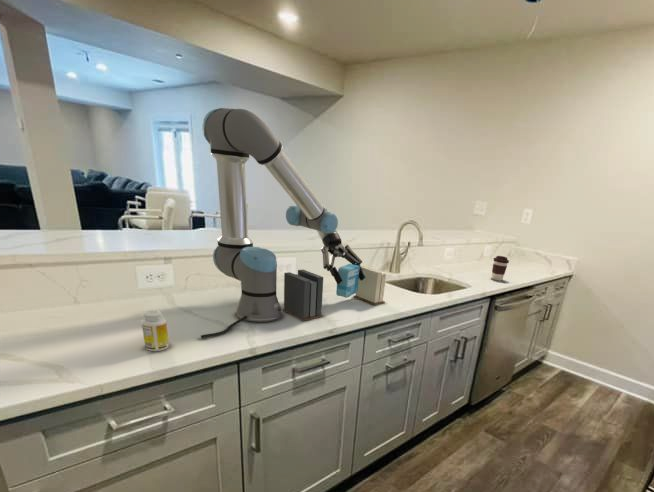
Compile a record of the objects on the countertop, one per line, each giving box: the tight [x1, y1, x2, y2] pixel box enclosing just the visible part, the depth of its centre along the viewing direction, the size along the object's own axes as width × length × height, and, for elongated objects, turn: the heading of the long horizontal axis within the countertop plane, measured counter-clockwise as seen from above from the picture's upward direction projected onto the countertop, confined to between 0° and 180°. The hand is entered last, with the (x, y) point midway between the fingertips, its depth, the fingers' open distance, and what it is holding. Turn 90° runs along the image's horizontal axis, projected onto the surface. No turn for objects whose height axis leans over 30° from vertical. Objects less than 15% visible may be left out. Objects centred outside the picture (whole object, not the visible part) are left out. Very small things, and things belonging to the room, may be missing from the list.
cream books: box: [353, 265, 387, 306], centre depth 170 cm, size 7×13×14 cm, turn 51°
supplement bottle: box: [141, 310, 170, 352], centre depth 104 cm, size 6×6×10 cm
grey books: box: [282, 268, 324, 322], centre depth 143 cm, size 8×13×15 cm, turn 51°
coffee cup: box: [491, 255, 510, 282], centre depth 251 cm, size 10×10×15 cm
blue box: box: [335, 263, 360, 299], centre depth 160 cm, size 12×4×12 cm, turn 162°
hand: (351, 280), depth 158 cm, fingers closed on blue box, 13 cm apart
